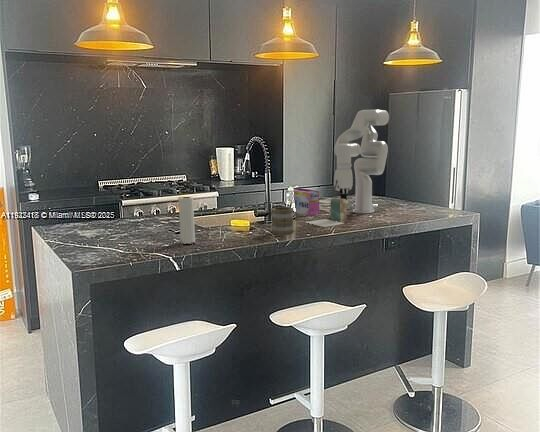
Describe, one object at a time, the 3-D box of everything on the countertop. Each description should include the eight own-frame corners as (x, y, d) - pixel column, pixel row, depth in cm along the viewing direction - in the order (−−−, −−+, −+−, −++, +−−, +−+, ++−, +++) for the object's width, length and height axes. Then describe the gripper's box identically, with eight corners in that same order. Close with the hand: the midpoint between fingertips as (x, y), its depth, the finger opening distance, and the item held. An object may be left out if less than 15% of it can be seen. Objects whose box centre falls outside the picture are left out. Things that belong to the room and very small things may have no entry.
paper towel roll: (196, 244, 242) (194, 197, 238) (182, 246, 241) (180, 198, 237) (193, 241, 249) (191, 195, 245) (180, 242, 247) (178, 196, 244)
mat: (324, 219, 296) (324, 219, 296) (344, 223, 283) (344, 223, 283) (304, 222, 288) (304, 222, 288) (324, 227, 275) (324, 226, 275)
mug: (295, 234, 260) (295, 209, 258) (273, 235, 258) (273, 211, 256) (289, 228, 275) (289, 204, 273) (268, 229, 273) (268, 205, 271)
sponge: (336, 219, 296) (336, 197, 293) (346, 221, 289) (346, 199, 287) (330, 220, 293) (330, 198, 291) (340, 222, 287) (340, 200, 284)
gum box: (284, 210, 328) (284, 188, 325) (295, 209, 332) (294, 187, 330) (309, 216, 308) (309, 192, 306) (320, 214, 313) (319, 191, 310)
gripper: (349, 165, 295) (349, 199, 298) (328, 167, 287) (328, 201, 290) (359, 166, 289) (358, 200, 292) (338, 168, 281) (337, 203, 284)
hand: (343, 201), depth 291 cm, fingers closed
